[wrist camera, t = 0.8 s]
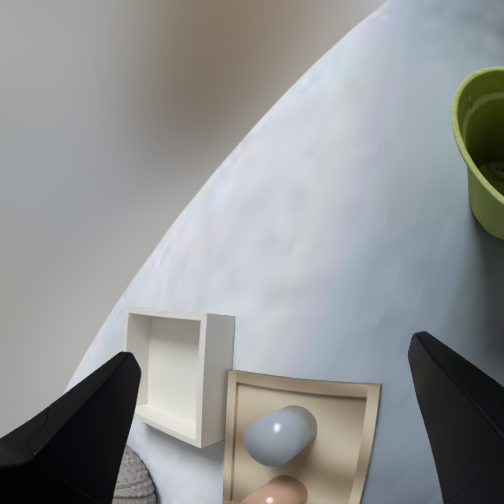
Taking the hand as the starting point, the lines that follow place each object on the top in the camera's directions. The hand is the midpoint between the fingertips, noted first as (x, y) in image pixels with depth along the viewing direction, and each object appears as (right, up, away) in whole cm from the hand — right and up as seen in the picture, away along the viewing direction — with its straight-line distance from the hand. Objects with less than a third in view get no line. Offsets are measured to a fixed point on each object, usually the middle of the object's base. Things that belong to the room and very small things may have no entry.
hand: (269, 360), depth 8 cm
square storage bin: (-7, -8, +18) cm, 21 cm away
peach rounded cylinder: (+2, -16, +9) cm, 18 cm away
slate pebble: (+3, -10, +10) cm, 14 cm away
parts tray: (+3, -13, +10) cm, 17 cm away
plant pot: (+17, +7, +7) cm, 20 cm away
